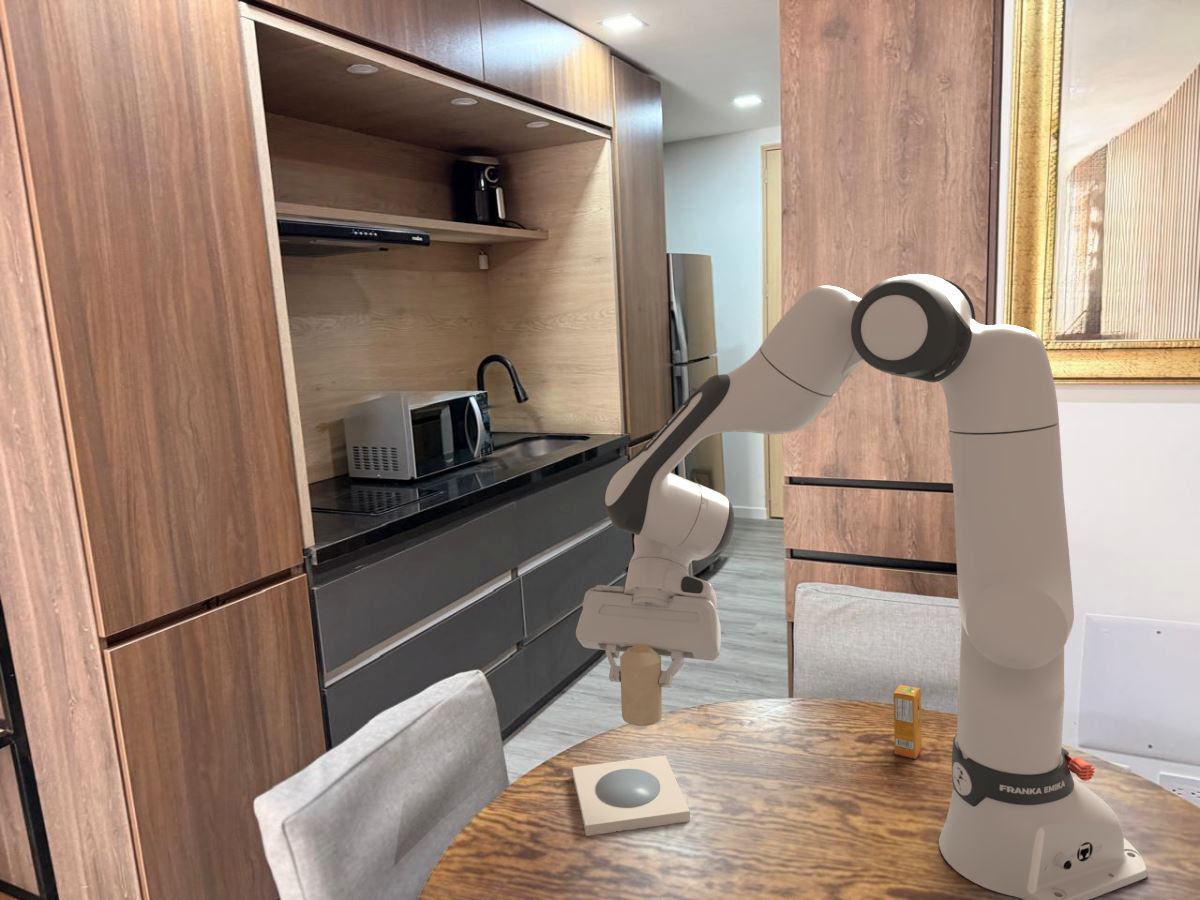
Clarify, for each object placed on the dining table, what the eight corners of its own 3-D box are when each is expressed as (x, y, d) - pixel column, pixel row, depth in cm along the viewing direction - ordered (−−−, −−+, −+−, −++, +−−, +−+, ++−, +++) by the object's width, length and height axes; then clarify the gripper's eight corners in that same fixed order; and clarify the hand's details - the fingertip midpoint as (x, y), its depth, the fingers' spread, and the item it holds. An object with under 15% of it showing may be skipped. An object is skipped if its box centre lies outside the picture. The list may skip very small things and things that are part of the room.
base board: (665, 764, 121) (665, 754, 121) (690, 821, 108) (689, 809, 107) (573, 776, 119) (572, 765, 119) (585, 836, 106) (585, 824, 105)
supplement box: (898, 743, 124) (899, 682, 122) (921, 750, 122) (923, 688, 120) (891, 753, 121) (893, 691, 120) (915, 760, 119) (917, 697, 118)
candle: (659, 728, 107) (657, 657, 106) (618, 725, 109) (616, 655, 107) (664, 708, 113) (663, 640, 111) (625, 705, 114) (623, 638, 112)
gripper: (581, 574, 117) (561, 667, 110) (722, 584, 111) (710, 683, 104) (592, 593, 122) (573, 682, 115) (728, 604, 116) (717, 699, 109)
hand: (639, 683), depth 109 cm, fingers closed on candle, 5 cm apart
